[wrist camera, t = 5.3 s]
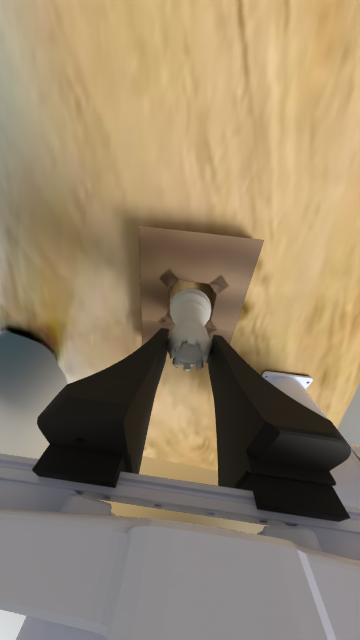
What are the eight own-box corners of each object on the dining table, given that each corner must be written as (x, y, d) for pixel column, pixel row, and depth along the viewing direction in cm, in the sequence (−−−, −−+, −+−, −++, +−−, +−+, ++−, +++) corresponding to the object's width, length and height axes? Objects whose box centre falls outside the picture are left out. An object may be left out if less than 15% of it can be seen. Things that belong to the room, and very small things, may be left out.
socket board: (221, 347, 23) (224, 358, 21) (147, 337, 23) (142, 347, 21) (254, 240, 16) (264, 239, 14) (146, 227, 16) (139, 225, 14)
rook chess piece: (176, 281, 15) (163, 320, 8) (217, 294, 15) (237, 341, 9) (166, 317, 17) (149, 371, 10) (202, 327, 18) (208, 386, 11)
